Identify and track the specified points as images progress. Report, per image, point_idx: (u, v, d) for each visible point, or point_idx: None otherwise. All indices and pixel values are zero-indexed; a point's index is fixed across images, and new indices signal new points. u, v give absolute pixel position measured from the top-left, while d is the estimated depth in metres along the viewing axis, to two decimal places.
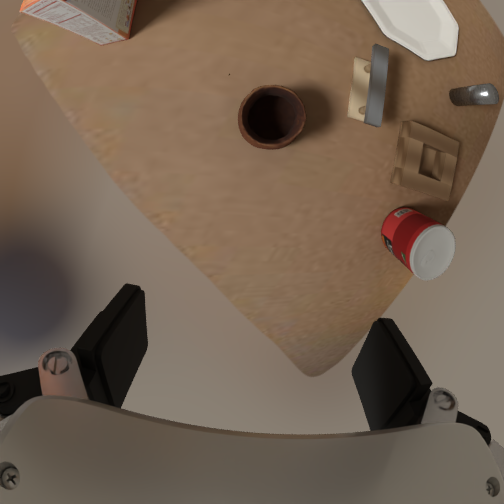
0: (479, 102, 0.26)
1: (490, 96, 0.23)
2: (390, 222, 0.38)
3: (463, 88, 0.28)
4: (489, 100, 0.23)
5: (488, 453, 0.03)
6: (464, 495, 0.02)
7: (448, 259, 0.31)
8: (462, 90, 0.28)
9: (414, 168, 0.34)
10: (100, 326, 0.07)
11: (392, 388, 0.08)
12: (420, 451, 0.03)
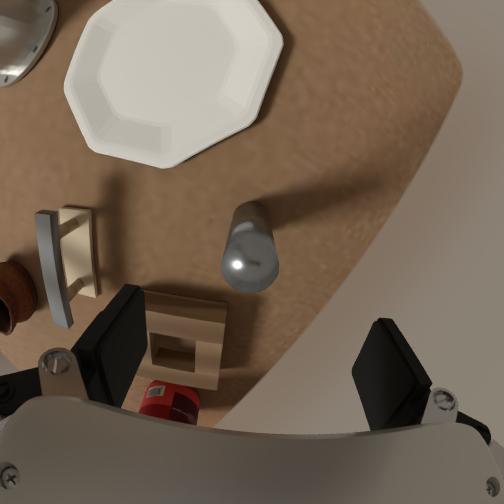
0: None
1: (238, 279, 0.16)
2: (144, 397, 0.31)
3: (233, 221, 0.21)
4: None
5: (488, 453, 0.03)
6: (464, 495, 0.02)
7: None
8: (231, 224, 0.21)
9: (144, 359, 0.27)
10: (100, 326, 0.07)
11: (392, 388, 0.08)
12: (420, 451, 0.03)
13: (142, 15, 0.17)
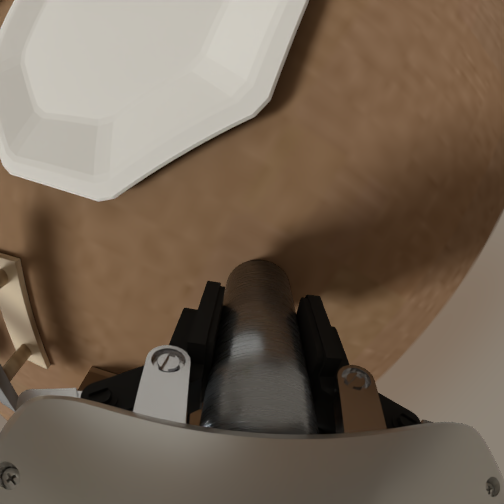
0: None
1: None
2: None
3: (223, 317, 0.10)
4: None
5: (488, 453, 0.03)
6: (464, 495, 0.02)
7: None
8: None
9: None
10: (203, 321, 0.08)
11: (306, 362, 0.09)
12: (420, 451, 0.03)
13: None
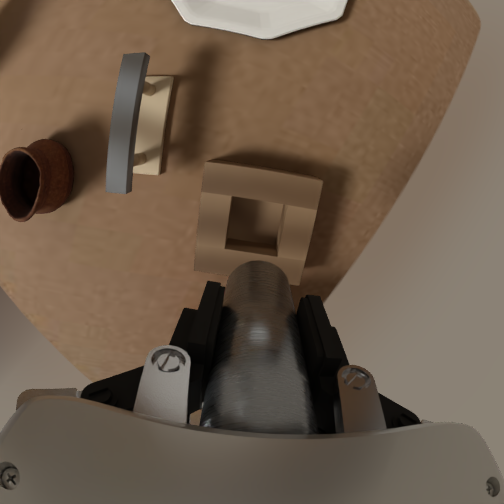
0: None
1: None
2: None
3: (223, 317, 0.10)
4: None
5: (488, 453, 0.03)
6: (464, 495, 0.02)
7: None
8: None
9: (215, 241, 0.25)
10: (204, 321, 0.08)
11: (306, 362, 0.09)
12: (420, 451, 0.03)
13: None
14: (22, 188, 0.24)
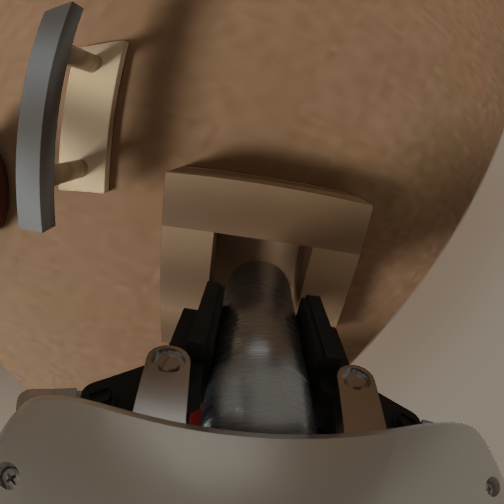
0: None
1: None
2: None
3: (223, 318, 0.10)
4: None
5: (488, 453, 0.03)
6: (464, 495, 0.02)
7: None
8: None
9: (191, 305, 0.15)
10: (204, 321, 0.08)
11: (306, 362, 0.09)
12: (420, 451, 0.03)
13: None
14: None
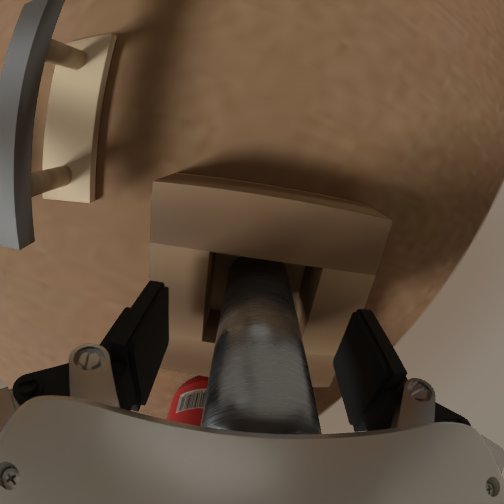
0: None
1: None
2: (170, 410, 0.17)
3: (227, 300, 0.11)
4: None
5: (488, 453, 0.03)
6: (464, 495, 0.02)
7: None
8: (223, 304, 0.11)
9: (185, 330, 0.13)
10: (131, 322, 0.07)
11: (368, 377, 0.08)
12: (420, 451, 0.03)
13: None
14: None
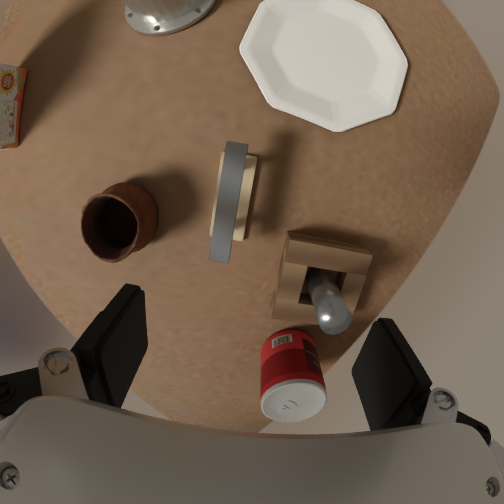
0: None
1: (327, 327, 0.25)
2: (265, 350, 0.36)
3: (313, 284, 0.30)
4: (325, 331, 0.25)
5: (488, 453, 0.03)
6: (464, 495, 0.02)
7: (317, 407, 0.29)
8: (311, 286, 0.31)
9: (292, 298, 0.32)
10: (101, 326, 0.07)
11: (392, 388, 0.08)
12: (420, 451, 0.03)
13: (308, 16, 0.24)
14: (99, 226, 0.31)
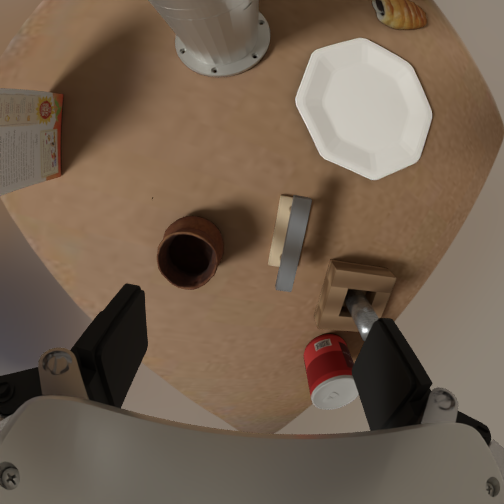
0: None
1: None
2: (309, 352, 0.43)
3: (352, 302, 0.37)
4: (364, 340, 0.33)
5: (488, 453, 0.03)
6: (464, 495, 0.02)
7: (353, 395, 0.36)
8: (350, 303, 0.38)
9: (334, 312, 0.39)
10: (100, 326, 0.07)
11: (392, 388, 0.08)
12: (420, 451, 0.03)
13: (352, 68, 0.29)
14: None
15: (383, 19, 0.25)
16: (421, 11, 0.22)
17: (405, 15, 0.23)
